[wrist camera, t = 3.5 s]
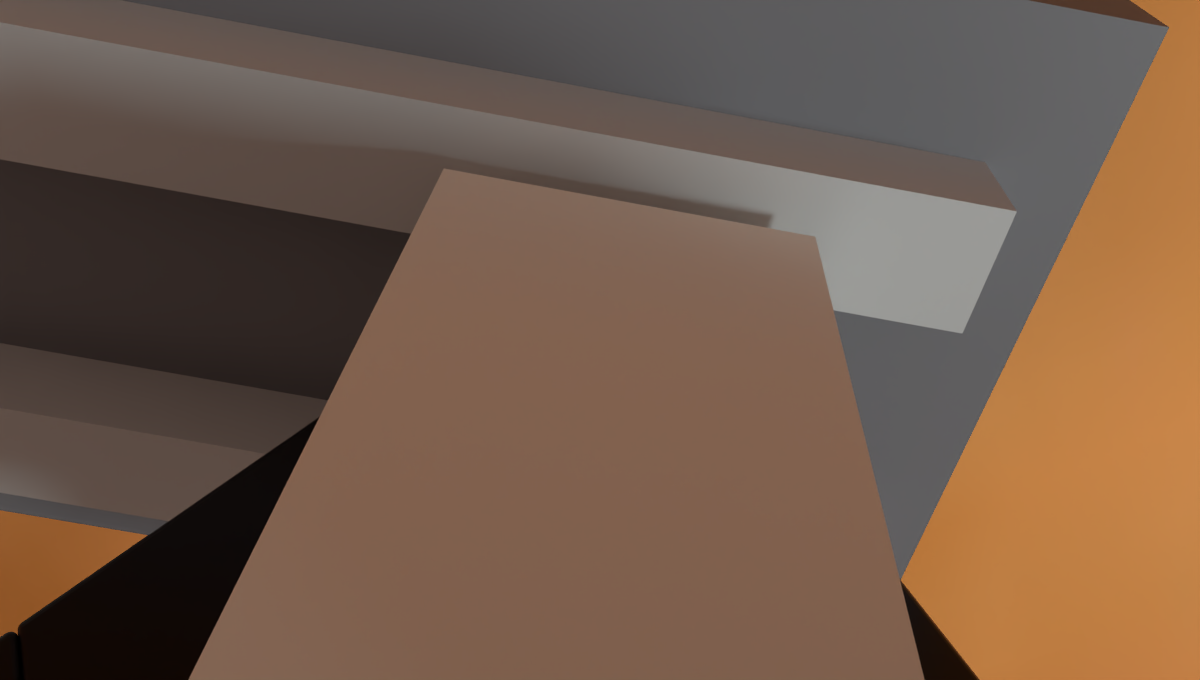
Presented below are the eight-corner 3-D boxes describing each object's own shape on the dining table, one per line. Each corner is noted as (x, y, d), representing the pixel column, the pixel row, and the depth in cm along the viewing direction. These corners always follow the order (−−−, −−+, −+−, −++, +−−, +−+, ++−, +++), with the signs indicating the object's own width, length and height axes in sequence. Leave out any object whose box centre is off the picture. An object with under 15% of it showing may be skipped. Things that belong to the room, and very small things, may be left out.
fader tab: (434, 480, 11) (223, 1156, 6) (470, 114, 9) (168, 717, 4) (693, 524, 11) (703, 1226, 6) (799, 175, 9) (966, 847, 4)
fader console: (-192, 339, 14) (-420, 509, 11) (-418, -332, 10) (-895, -343, 7) (837, 518, 15) (876, 725, 12) (1068, -43, 10) (1225, 65, 7)
